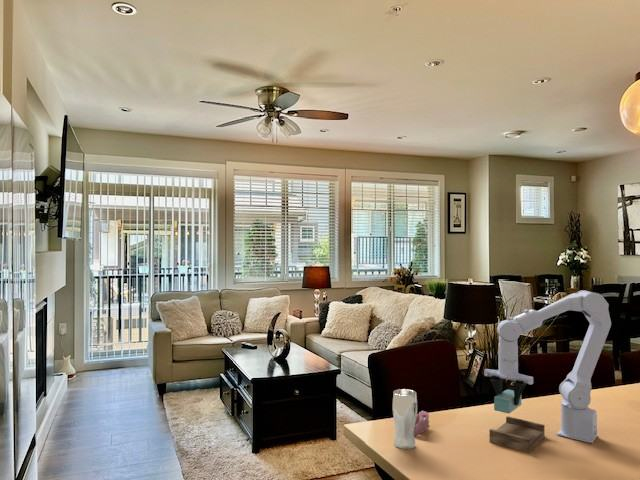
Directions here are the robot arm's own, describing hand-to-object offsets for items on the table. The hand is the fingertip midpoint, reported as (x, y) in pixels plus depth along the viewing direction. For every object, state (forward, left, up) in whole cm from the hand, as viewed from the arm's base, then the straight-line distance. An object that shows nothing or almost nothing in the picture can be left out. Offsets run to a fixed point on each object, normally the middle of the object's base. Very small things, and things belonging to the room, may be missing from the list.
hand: (508, 402), depth 147 cm
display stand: (-5, +6, -8) cm, 11 cm away
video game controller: (+20, +19, -9) cm, 29 cm away
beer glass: (+18, +32, -9) cm, 38 cm away
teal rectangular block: (0, 0, -1) cm, 1 cm away
